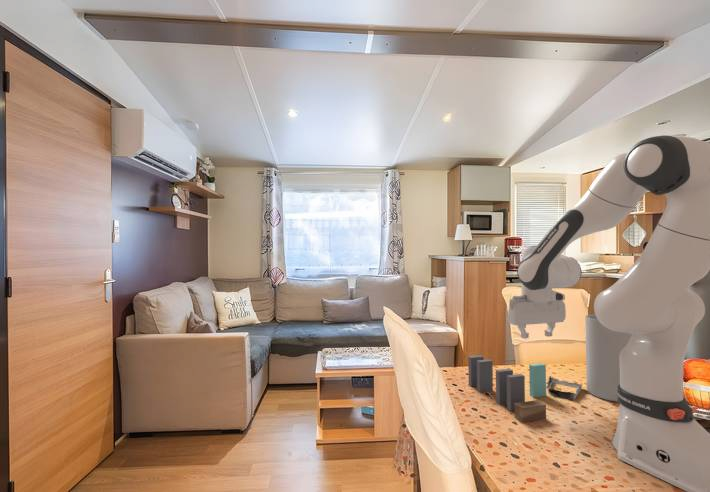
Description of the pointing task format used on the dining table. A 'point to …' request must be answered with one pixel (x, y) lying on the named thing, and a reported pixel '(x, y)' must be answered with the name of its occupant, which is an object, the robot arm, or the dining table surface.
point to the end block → (530, 411)
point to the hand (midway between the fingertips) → (536, 337)
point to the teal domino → (537, 379)
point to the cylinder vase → (603, 358)
